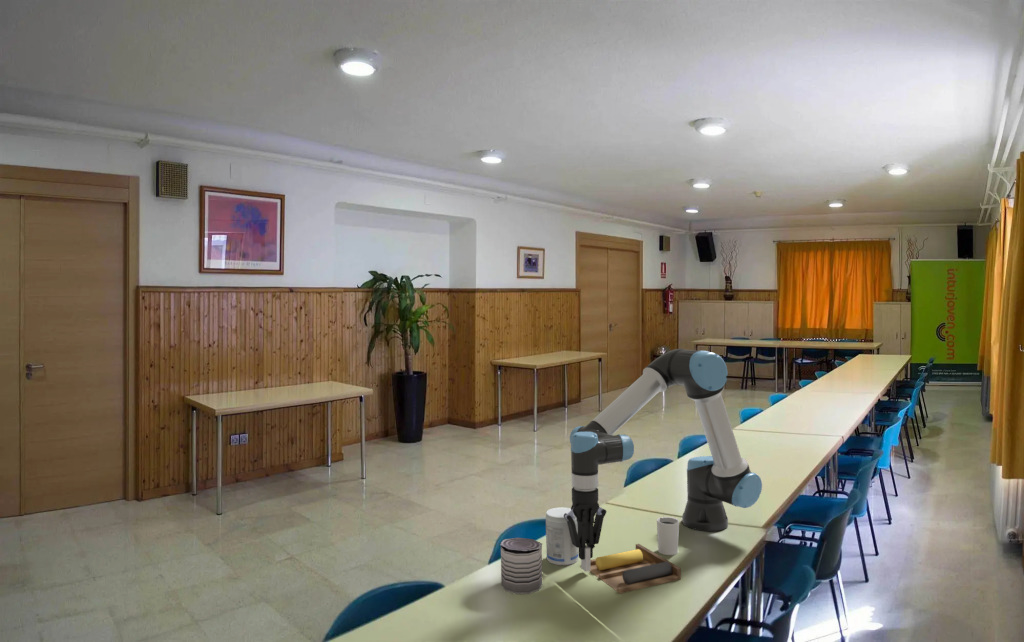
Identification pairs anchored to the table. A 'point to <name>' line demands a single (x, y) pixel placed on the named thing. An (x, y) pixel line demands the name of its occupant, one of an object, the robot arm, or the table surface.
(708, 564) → the table surface
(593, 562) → the walnut slot rack
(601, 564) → the ochre rod
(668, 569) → the charcoal rod
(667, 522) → the white cup
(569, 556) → the supplement tub
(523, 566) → the can
